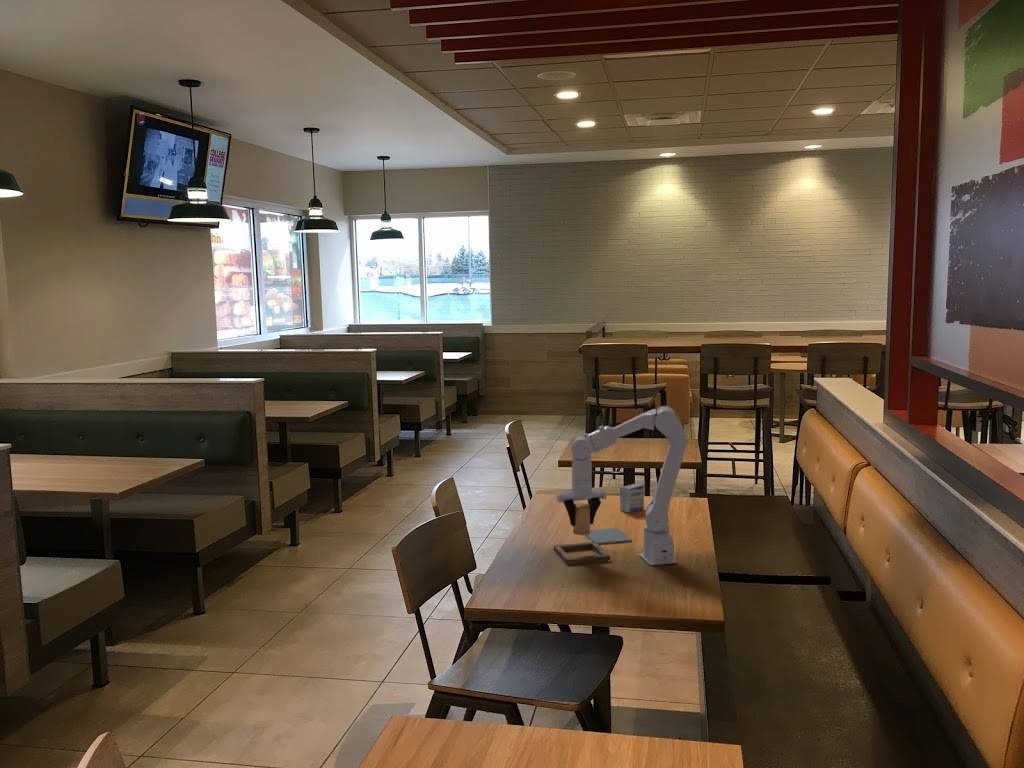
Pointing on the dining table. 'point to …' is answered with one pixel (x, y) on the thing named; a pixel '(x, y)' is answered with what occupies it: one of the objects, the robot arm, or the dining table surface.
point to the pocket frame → (577, 560)
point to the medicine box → (632, 498)
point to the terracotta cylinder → (582, 519)
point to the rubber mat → (607, 536)
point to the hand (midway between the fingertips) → (581, 524)
